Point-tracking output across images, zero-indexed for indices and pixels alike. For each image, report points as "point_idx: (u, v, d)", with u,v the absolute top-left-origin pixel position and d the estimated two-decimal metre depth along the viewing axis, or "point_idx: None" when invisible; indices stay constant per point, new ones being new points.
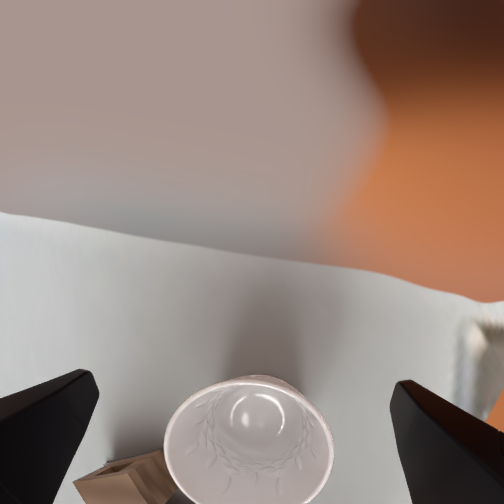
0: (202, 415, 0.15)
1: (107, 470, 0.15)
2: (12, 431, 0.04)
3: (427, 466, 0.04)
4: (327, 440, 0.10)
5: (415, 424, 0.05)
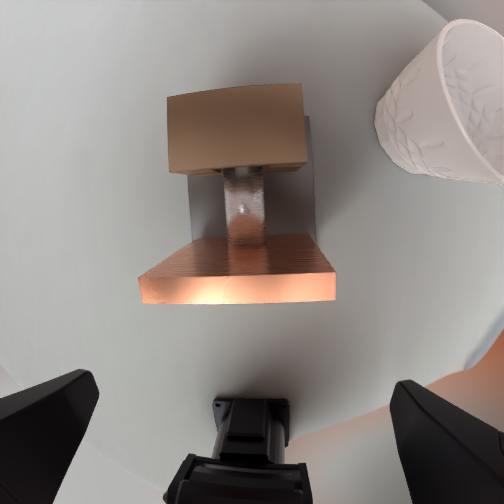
0: None
1: None
2: (12, 431, 0.04)
3: (427, 466, 0.04)
4: None
5: (415, 424, 0.05)
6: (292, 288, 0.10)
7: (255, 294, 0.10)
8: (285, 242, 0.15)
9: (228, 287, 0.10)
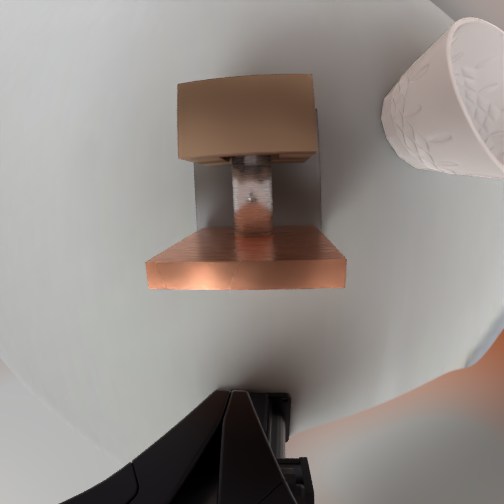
0: None
1: None
2: (178, 496, 0.03)
3: None
4: None
5: None
6: (303, 274, 0.10)
7: (265, 280, 0.10)
8: (292, 232, 0.15)
9: (237, 272, 0.10)
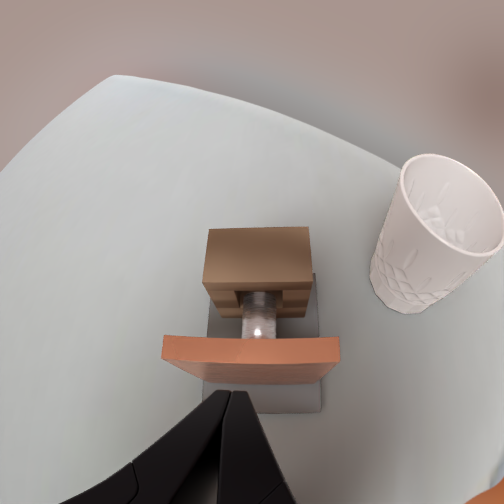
0: None
1: None
2: (178, 496, 0.03)
3: None
4: (501, 214, 0.12)
5: None
6: (302, 350, 0.10)
7: (268, 355, 0.10)
8: None
9: (244, 348, 0.11)
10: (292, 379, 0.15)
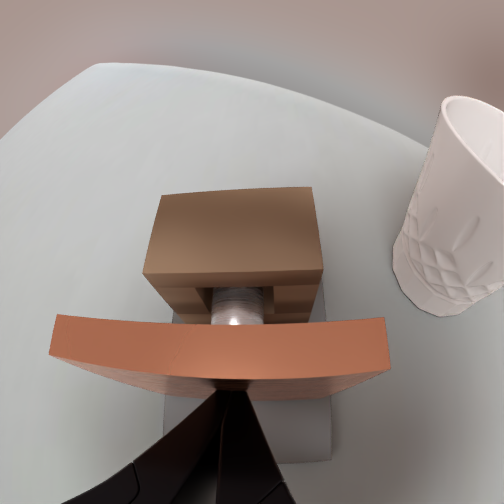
0: None
1: None
2: (179, 496, 0.03)
3: None
4: None
5: None
6: (309, 349, 0.05)
7: (235, 360, 0.05)
8: None
9: (186, 343, 0.05)
10: (290, 396, 0.09)
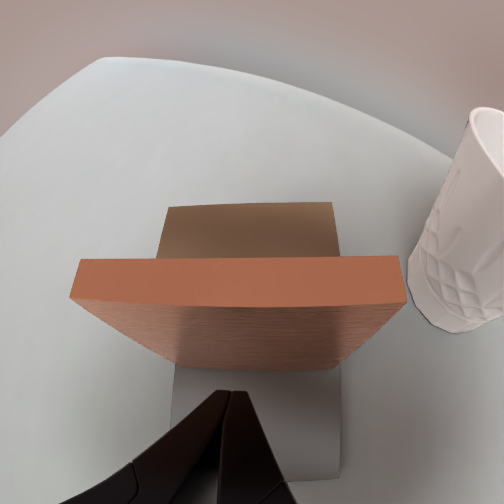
0: None
1: None
2: (178, 496, 0.03)
3: None
4: None
5: None
6: (331, 280, 0.05)
7: (262, 290, 0.05)
8: None
9: (214, 275, 0.05)
10: (303, 359, 0.10)
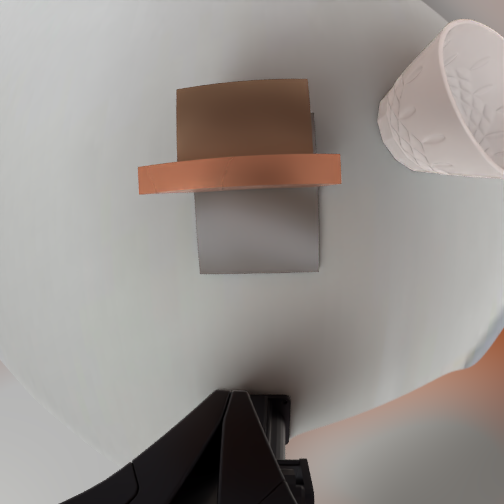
0: None
1: None
2: (178, 496, 0.03)
3: None
4: None
5: None
6: (297, 168, 0.09)
7: (257, 175, 0.09)
8: None
9: (230, 168, 0.09)
10: None
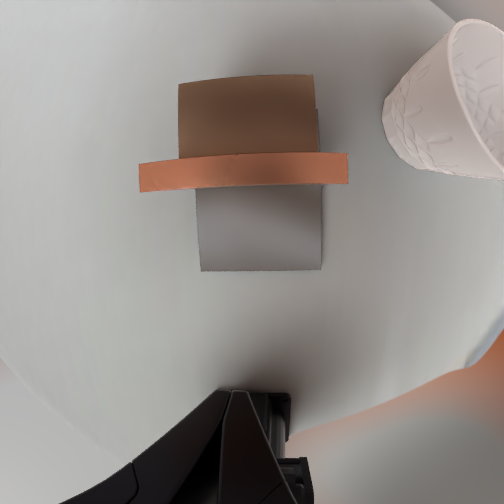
0: None
1: None
2: (178, 495, 0.03)
3: None
4: None
5: None
6: (302, 167, 0.09)
7: (262, 174, 0.09)
8: None
9: (234, 166, 0.09)
10: (291, 184, 0.14)
